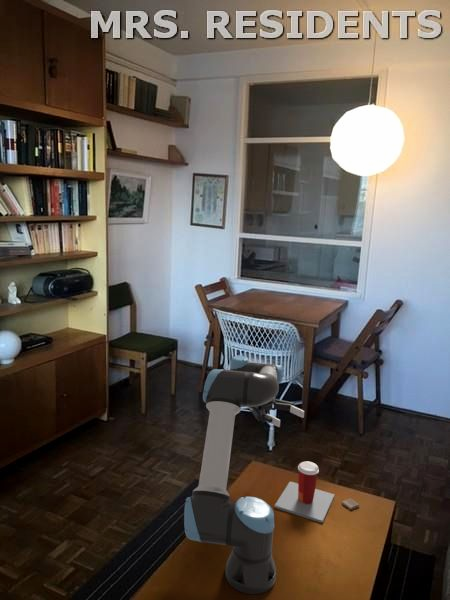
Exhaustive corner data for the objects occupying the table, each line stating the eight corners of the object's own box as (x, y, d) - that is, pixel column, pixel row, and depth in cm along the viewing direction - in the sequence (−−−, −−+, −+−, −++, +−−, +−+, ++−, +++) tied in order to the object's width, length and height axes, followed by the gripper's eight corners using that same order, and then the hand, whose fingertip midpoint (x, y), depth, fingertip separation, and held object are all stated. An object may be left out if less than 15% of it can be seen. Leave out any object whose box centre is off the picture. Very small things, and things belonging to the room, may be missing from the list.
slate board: (322, 523, 173) (322, 520, 173) (274, 507, 180) (274, 505, 180) (334, 496, 189) (334, 494, 189) (289, 483, 196) (289, 481, 196)
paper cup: (319, 498, 186) (322, 464, 183) (311, 508, 179) (314, 474, 176) (300, 491, 190) (303, 458, 187) (291, 500, 183) (294, 466, 180)
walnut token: (350, 511, 181) (350, 507, 181) (341, 504, 185) (342, 501, 184) (359, 507, 183) (359, 504, 183) (350, 501, 187) (350, 497, 187)
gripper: (273, 401, 210) (312, 419, 195) (229, 416, 194) (267, 437, 178) (274, 385, 209) (313, 402, 193) (230, 398, 193) (269, 418, 177)
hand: (291, 418), depth 186 cm, fingers open, 13 cm apart
